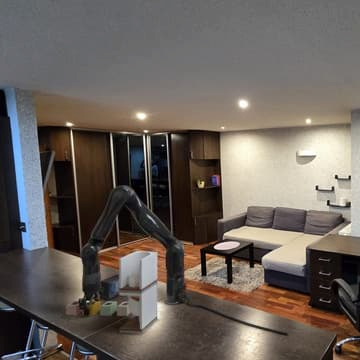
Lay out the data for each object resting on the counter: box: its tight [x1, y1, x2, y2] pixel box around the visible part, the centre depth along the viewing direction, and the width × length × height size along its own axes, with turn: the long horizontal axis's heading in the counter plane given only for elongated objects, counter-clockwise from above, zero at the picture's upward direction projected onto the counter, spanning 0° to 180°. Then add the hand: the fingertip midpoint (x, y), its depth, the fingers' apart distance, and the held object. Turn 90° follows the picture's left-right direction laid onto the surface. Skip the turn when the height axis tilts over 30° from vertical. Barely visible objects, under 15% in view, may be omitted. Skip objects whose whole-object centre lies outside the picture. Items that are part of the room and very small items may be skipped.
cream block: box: [116, 301, 132, 317], centre depth 142 cm, size 5×5×5 cm
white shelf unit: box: [118, 250, 158, 335], centre depth 131 cm, size 11×11×35 cm
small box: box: [100, 274, 120, 301], centre depth 160 cm, size 11×6×10 cm, turn 168°
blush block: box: [65, 300, 83, 316], centre depth 141 cm, size 5×5×5 cm
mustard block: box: [82, 300, 101, 317], centre depth 141 cm, size 5×5×5 cm
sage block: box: [99, 300, 118, 317], centre depth 142 cm, size 5×5×5 cm
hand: (92, 311), depth 141 cm, fingers open, 6 cm apart
